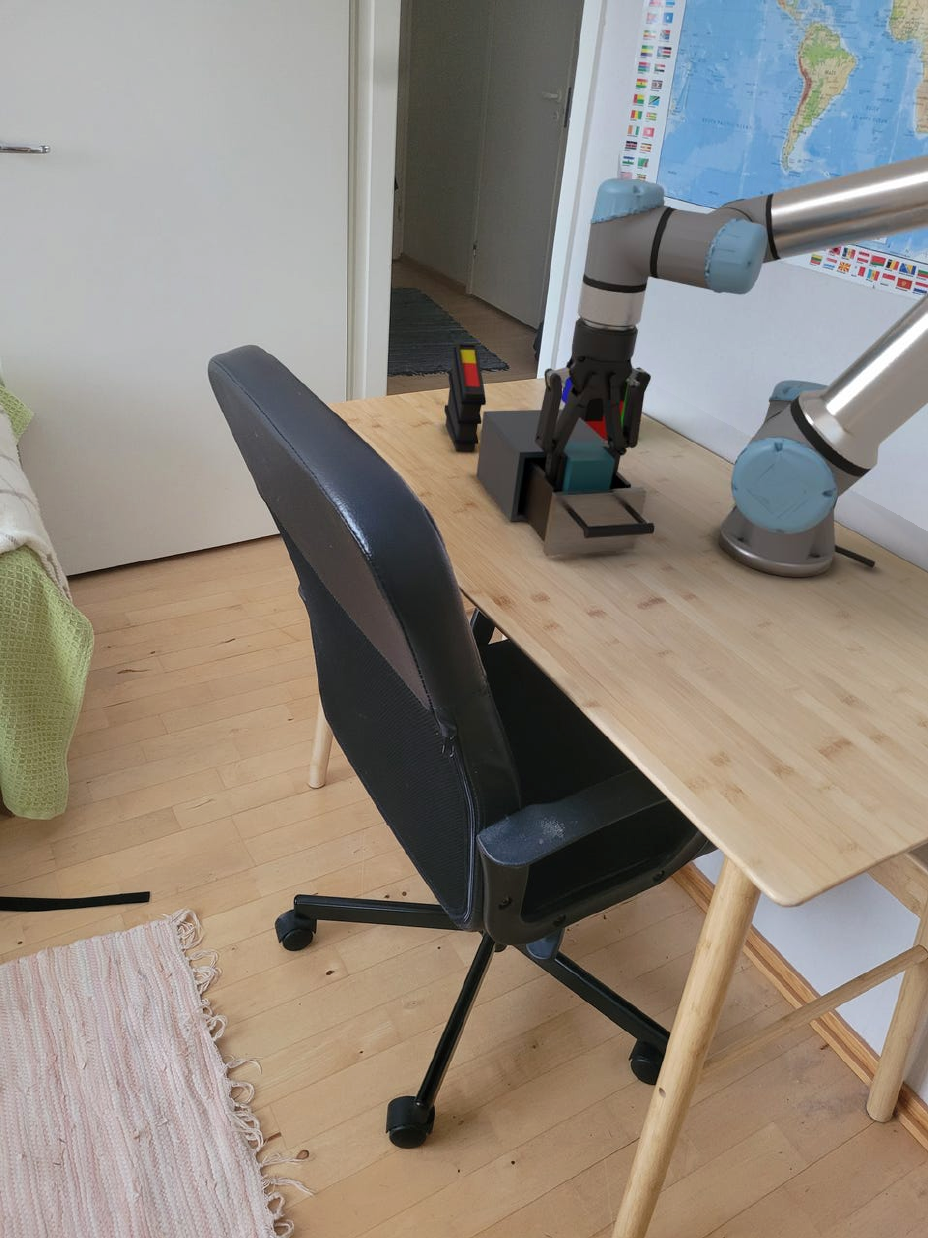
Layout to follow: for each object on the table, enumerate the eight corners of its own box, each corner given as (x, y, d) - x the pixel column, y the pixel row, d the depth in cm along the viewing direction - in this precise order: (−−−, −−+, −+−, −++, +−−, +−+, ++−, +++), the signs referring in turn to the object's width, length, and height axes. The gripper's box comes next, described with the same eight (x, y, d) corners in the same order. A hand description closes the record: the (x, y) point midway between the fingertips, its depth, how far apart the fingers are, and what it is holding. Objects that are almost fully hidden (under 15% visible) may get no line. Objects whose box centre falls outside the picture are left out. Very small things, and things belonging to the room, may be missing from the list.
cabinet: (600, 516, 135) (613, 448, 129) (510, 522, 131) (519, 452, 125) (560, 472, 147) (570, 408, 141) (476, 476, 142) (483, 411, 137)
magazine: (462, 410, 161) (478, 342, 148) (472, 470, 154) (489, 404, 141) (441, 409, 160) (454, 341, 147) (449, 470, 153) (464, 403, 141)
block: (587, 488, 129) (596, 440, 126) (605, 508, 125) (615, 459, 121) (546, 490, 128) (554, 441, 124) (563, 511, 123) (572, 460, 119)
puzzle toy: (558, 418, 167) (567, 362, 161) (610, 416, 170) (620, 361, 164) (581, 440, 159) (590, 382, 153) (634, 438, 162) (646, 381, 156)
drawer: (657, 573, 120) (671, 514, 116) (566, 581, 116) (577, 520, 112) (591, 503, 136) (601, 448, 131) (509, 508, 132) (517, 451, 128)
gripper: (663, 313, 119) (628, 481, 132) (522, 311, 113) (500, 488, 126) (692, 331, 113) (653, 505, 126) (546, 330, 108) (520, 513, 120)
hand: (576, 496), depth 126 cm, fingers closed on block, 6 cm apart
